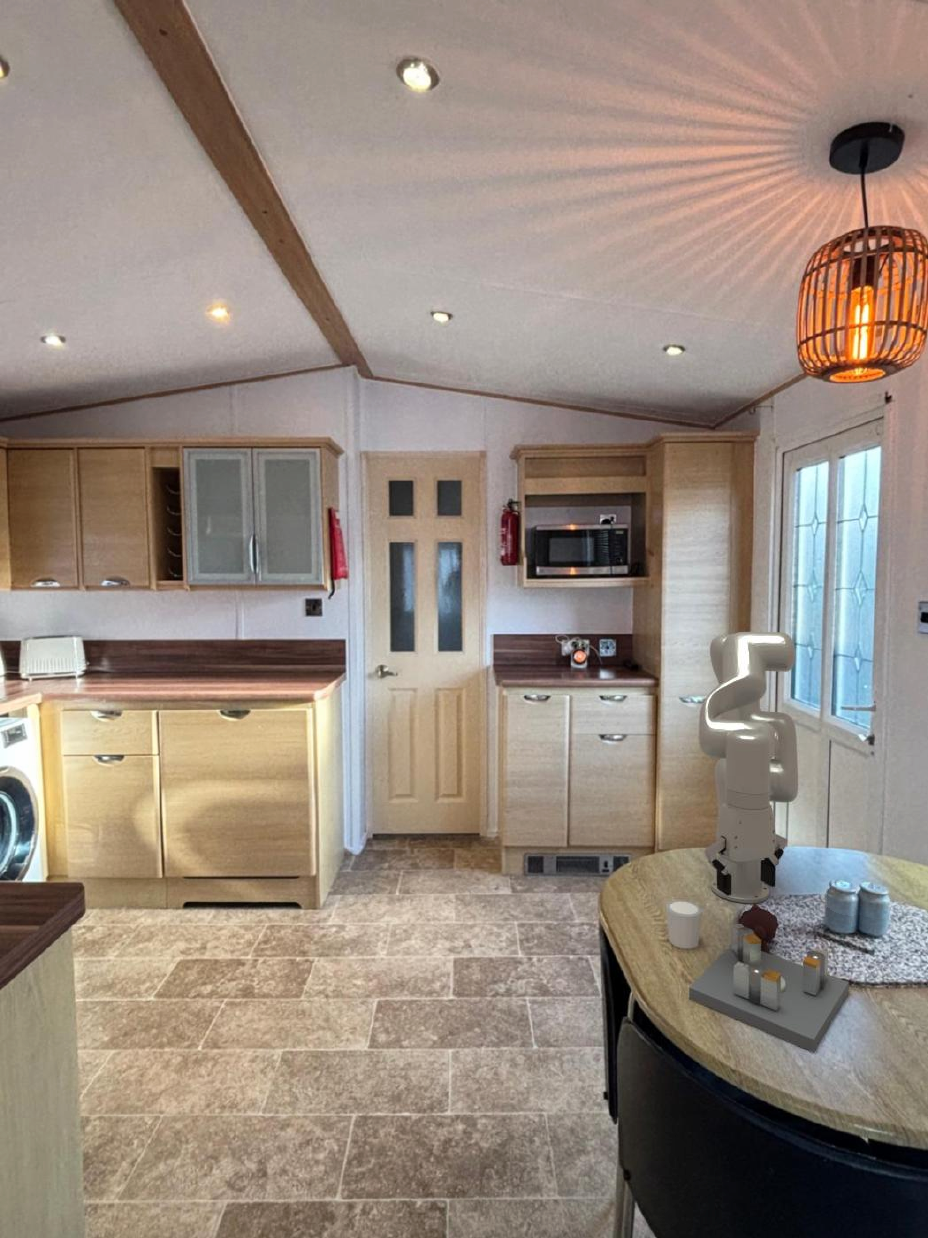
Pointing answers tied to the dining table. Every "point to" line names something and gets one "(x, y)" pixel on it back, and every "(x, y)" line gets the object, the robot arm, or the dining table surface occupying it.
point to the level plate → (799, 1010)
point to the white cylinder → (683, 923)
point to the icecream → (760, 924)
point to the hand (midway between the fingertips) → (746, 888)
